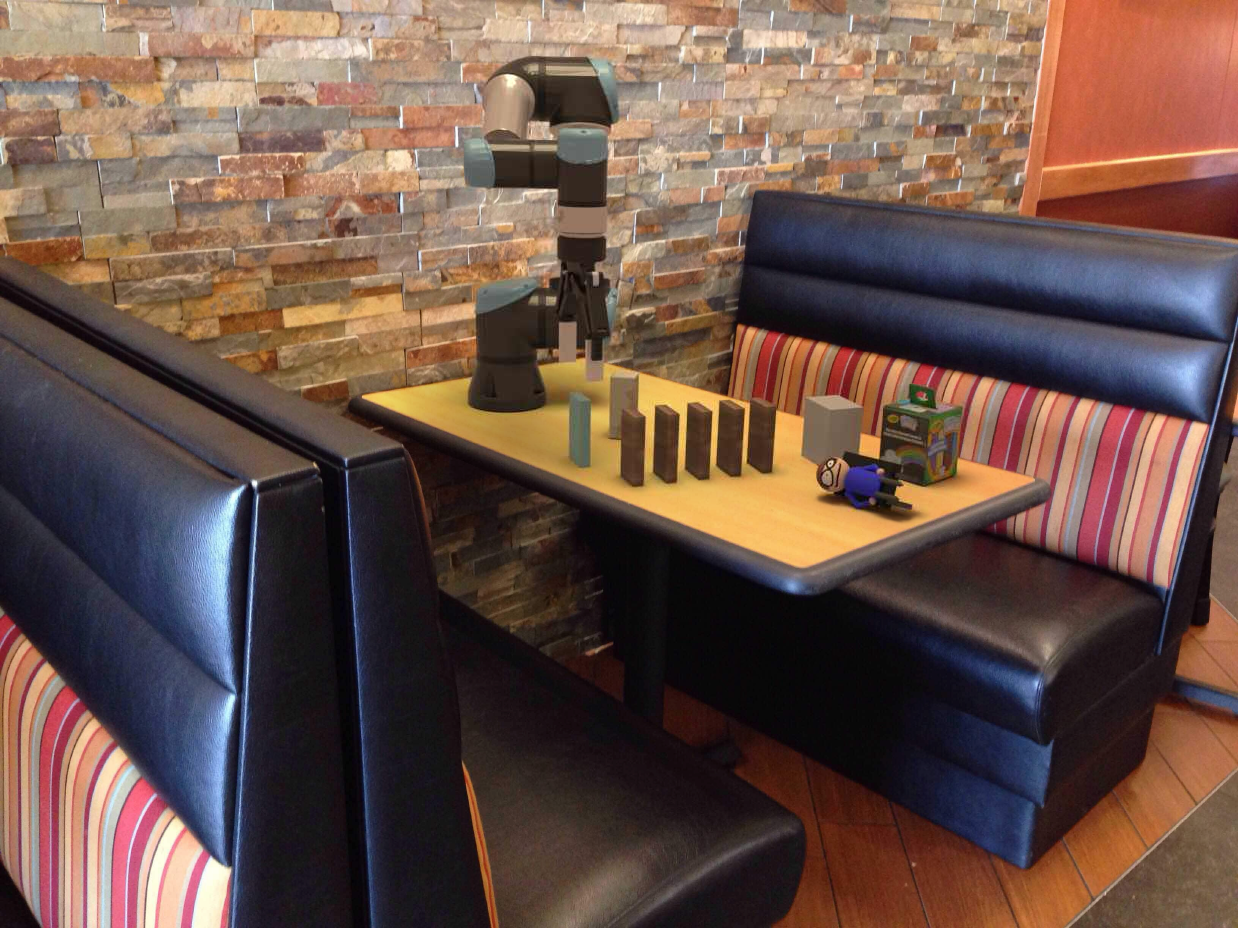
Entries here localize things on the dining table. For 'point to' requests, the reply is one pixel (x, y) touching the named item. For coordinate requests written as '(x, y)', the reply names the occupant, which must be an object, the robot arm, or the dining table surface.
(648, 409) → the dining table surface
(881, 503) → the character figurine
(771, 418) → the tile
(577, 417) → the tile
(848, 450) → the end block
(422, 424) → the dining table surface
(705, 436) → the tile
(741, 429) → the tile
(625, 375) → the box
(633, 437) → the tile
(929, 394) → the chalk box
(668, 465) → the tile
